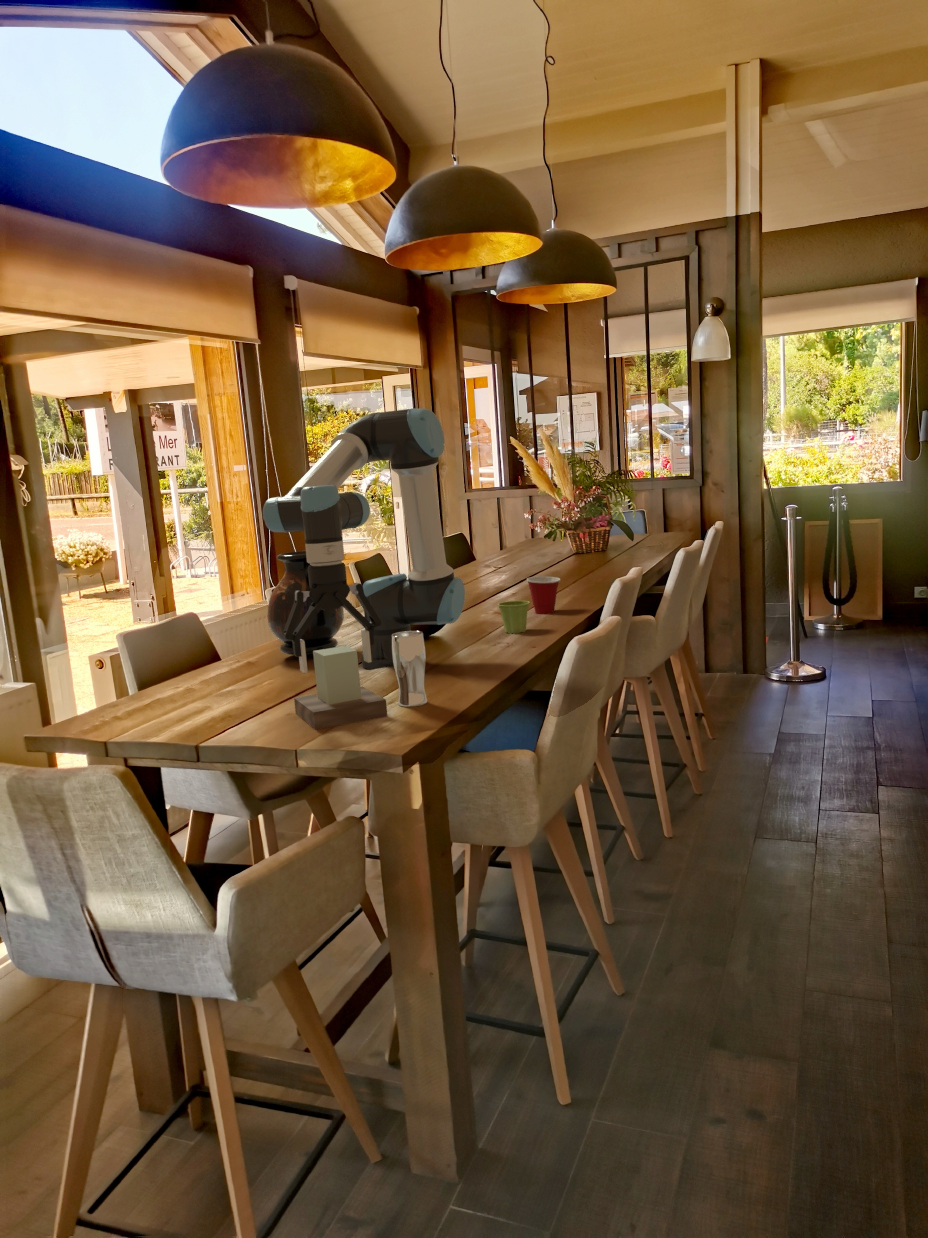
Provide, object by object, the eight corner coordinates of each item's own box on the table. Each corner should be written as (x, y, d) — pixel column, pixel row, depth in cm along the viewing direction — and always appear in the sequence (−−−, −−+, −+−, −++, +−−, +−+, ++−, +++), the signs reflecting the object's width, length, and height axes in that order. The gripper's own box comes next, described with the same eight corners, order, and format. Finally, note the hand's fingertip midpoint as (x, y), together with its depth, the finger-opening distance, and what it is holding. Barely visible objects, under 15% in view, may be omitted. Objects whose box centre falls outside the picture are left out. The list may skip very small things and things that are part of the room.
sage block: (317, 698, 193) (312, 651, 191) (349, 692, 196) (345, 645, 194) (328, 704, 186) (323, 656, 185) (361, 698, 189) (356, 650, 188)
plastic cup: (550, 618, 291) (548, 580, 289) (522, 617, 298) (519, 579, 296) (568, 612, 300) (566, 575, 298) (540, 611, 306) (538, 575, 304)
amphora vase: (360, 648, 264) (351, 549, 260) (290, 661, 252) (279, 558, 248) (326, 639, 282) (317, 547, 277) (259, 652, 270) (248, 555, 265)
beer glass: (398, 700, 200) (392, 631, 198) (430, 698, 200) (424, 629, 198) (394, 708, 193) (388, 637, 191) (428, 706, 193) (422, 635, 191)
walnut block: (296, 716, 195) (294, 697, 195) (363, 704, 201) (362, 686, 201) (315, 732, 182) (313, 712, 181) (387, 718, 188) (385, 699, 187)
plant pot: (501, 630, 277) (499, 601, 276) (532, 628, 276) (531, 599, 274) (497, 636, 268) (495, 606, 266) (530, 634, 266) (528, 604, 265)
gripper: (269, 571, 178) (281, 679, 181) (390, 557, 188) (399, 659, 192) (260, 568, 185) (271, 673, 188) (377, 555, 195) (386, 654, 199)
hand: (336, 666), depth 190 cm, fingers open, 13 cm apart
